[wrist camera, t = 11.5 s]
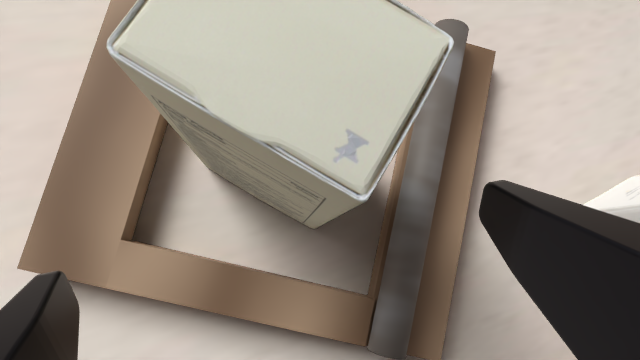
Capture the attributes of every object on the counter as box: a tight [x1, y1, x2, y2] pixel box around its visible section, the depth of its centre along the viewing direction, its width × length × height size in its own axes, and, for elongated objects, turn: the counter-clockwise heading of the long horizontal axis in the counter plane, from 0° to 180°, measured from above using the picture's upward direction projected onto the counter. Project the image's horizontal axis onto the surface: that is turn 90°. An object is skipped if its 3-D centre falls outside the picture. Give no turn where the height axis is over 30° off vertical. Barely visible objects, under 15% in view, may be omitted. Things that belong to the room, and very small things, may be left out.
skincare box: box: [106, 0, 454, 229], centre depth 15 cm, size 6×4×12 cm
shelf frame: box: [17, 0, 496, 360], centre depth 20 cm, size 18×15×3 cm
